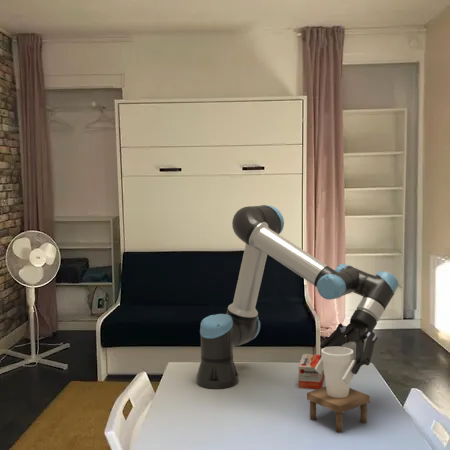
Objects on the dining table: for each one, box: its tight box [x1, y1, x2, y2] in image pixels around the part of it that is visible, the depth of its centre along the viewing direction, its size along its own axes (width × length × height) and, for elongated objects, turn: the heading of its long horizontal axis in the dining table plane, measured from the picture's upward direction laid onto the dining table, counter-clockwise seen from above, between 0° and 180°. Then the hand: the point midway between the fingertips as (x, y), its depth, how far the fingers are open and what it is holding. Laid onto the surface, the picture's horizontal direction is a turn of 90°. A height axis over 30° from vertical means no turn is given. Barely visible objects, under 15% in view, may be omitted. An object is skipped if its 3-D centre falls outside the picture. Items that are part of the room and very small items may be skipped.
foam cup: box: [320, 346, 354, 398], centre depth 160 cm, size 10×9×13 cm
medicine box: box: [298, 353, 325, 390], centre depth 194 cm, size 15×8×8 cm, turn 166°
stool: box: [306, 386, 371, 433], centre depth 161 cm, size 13×13×8 cm
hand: (331, 376), depth 159 cm, fingers open, 10 cm apart
